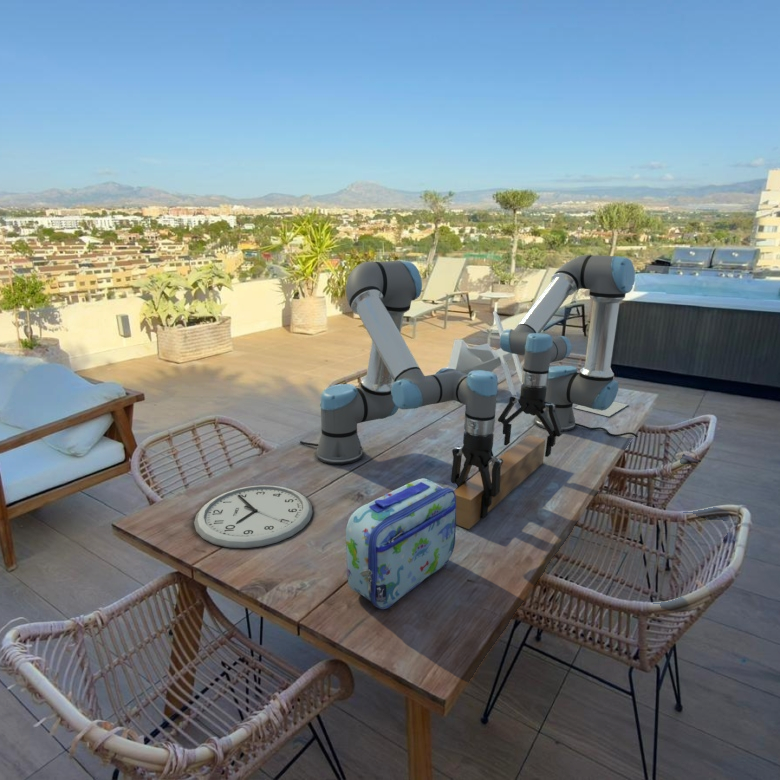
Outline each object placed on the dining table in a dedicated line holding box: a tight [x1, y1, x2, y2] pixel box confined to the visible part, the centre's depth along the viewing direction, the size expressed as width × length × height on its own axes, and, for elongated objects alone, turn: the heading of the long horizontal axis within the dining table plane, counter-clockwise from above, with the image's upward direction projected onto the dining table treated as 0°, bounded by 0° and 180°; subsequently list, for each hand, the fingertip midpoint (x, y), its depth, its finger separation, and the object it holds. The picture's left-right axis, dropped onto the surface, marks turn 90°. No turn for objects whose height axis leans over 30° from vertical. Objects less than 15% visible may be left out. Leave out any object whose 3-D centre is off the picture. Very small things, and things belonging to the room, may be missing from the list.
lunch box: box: [345, 477, 457, 610], centre depth 110 cm, size 26×11×21 cm, turn 134°
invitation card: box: [573, 400, 629, 418], centre depth 226 cm, size 21×1×15 cm
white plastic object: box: [445, 310, 523, 397], centre depth 245 cm, size 37×45×31 cm
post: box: [453, 434, 547, 530], centre depth 152 cm, size 50×6×8 cm, turn 143°
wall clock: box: [193, 484, 313, 549], centre depth 137 cm, size 30×2×30 cm
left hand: (472, 512), depth 140 cm, fingers closed on post, 6 cm apart
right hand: (526, 449), depth 164 cm, fingers open, 13 cm apart
